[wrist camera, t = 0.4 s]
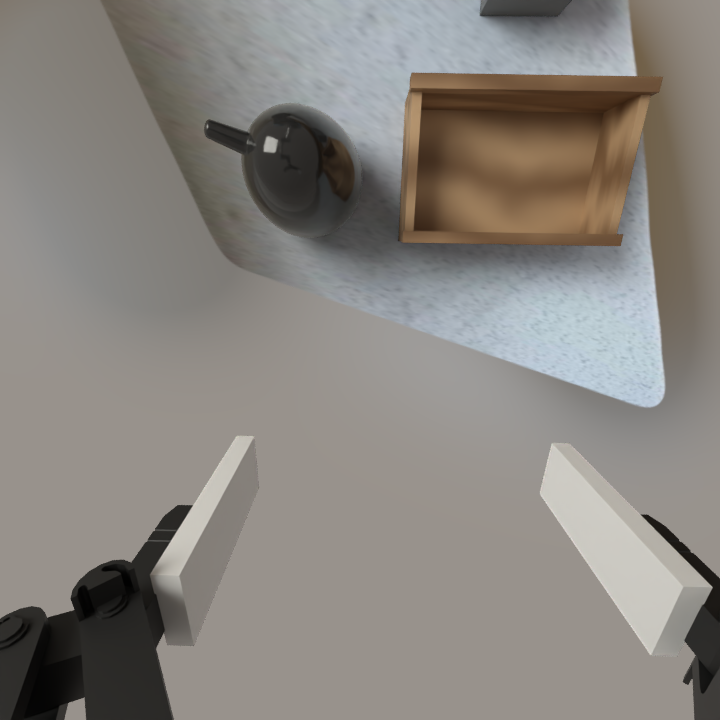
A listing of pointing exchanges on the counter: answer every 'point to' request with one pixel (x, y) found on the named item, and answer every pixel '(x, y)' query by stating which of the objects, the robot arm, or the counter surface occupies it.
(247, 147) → the pump dispenser
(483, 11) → the box
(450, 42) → the counter surface
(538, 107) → the large crate
